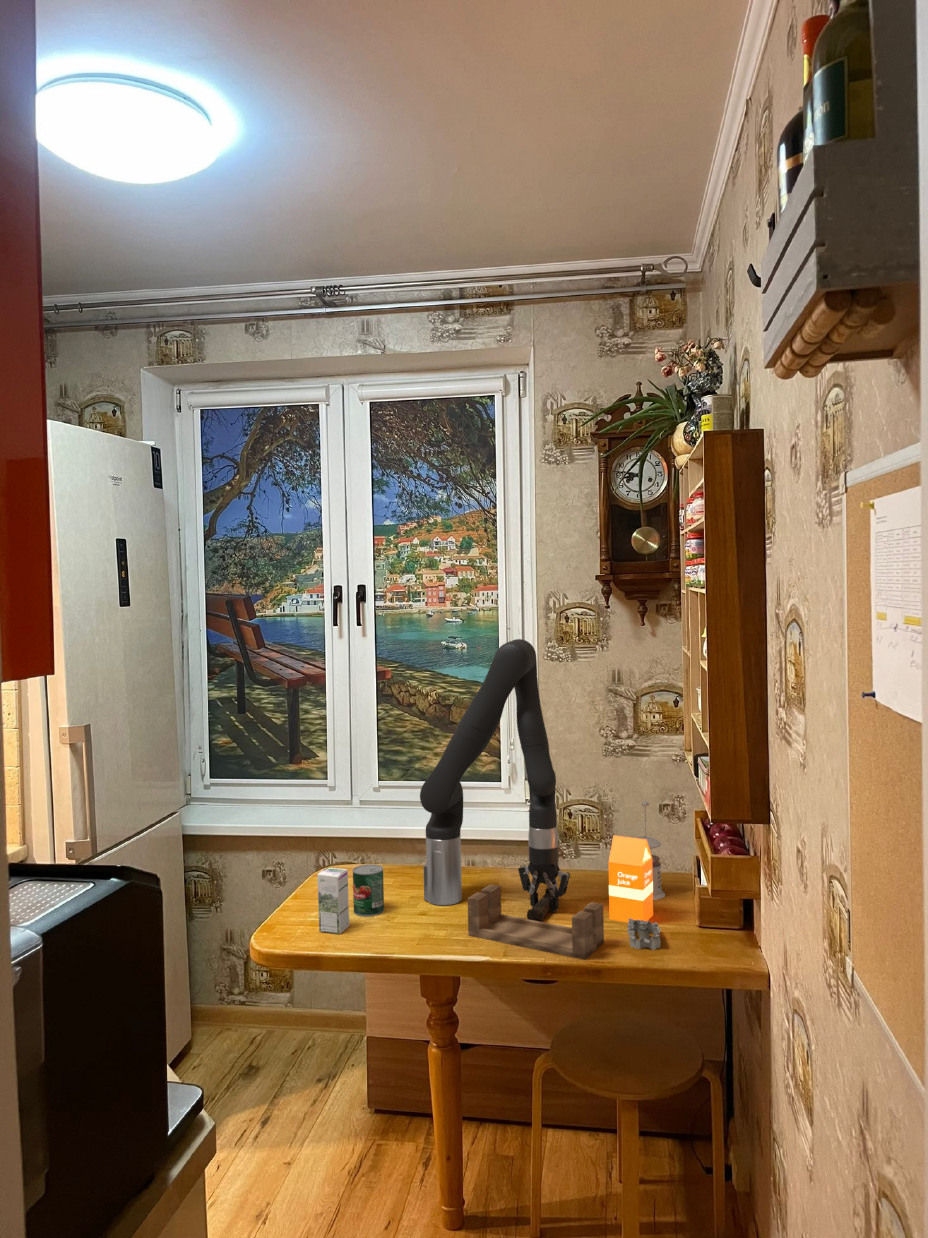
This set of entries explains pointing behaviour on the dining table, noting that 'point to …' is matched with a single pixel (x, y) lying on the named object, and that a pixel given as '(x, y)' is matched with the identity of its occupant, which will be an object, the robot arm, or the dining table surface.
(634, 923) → the egg carton
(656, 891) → the french press
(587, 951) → the cradle
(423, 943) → the dining table surface
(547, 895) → the hand tool
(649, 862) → the orange juice
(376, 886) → the canned tomato
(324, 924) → the syrup box
